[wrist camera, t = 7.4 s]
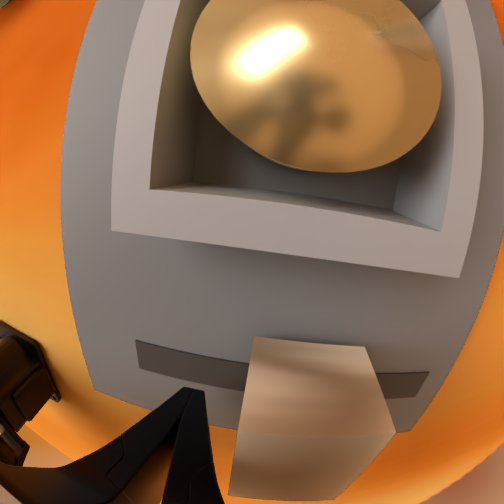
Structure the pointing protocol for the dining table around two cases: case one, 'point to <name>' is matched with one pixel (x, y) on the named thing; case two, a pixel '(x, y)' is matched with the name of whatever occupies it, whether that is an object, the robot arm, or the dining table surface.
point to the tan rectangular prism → (307, 421)
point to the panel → (270, 221)
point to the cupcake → (3, 2)
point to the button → (318, 79)
